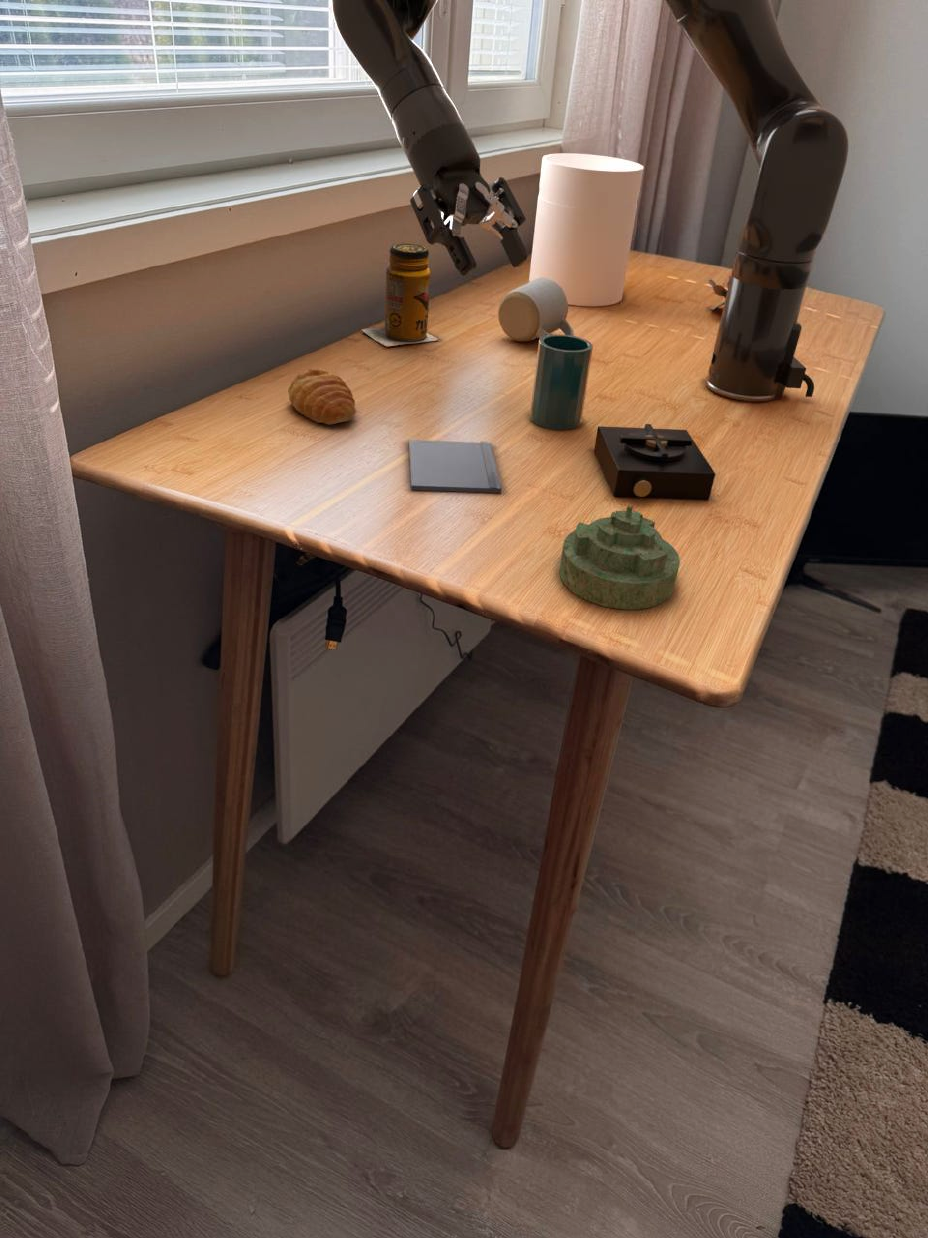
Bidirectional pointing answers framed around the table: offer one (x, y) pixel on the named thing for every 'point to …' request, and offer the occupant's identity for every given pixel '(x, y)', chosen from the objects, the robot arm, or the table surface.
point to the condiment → (405, 297)
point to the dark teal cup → (560, 381)
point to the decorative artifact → (619, 562)
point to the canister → (585, 225)
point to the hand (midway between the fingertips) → (496, 267)
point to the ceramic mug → (534, 311)
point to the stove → (653, 463)
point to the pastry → (322, 397)
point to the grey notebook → (453, 466)
